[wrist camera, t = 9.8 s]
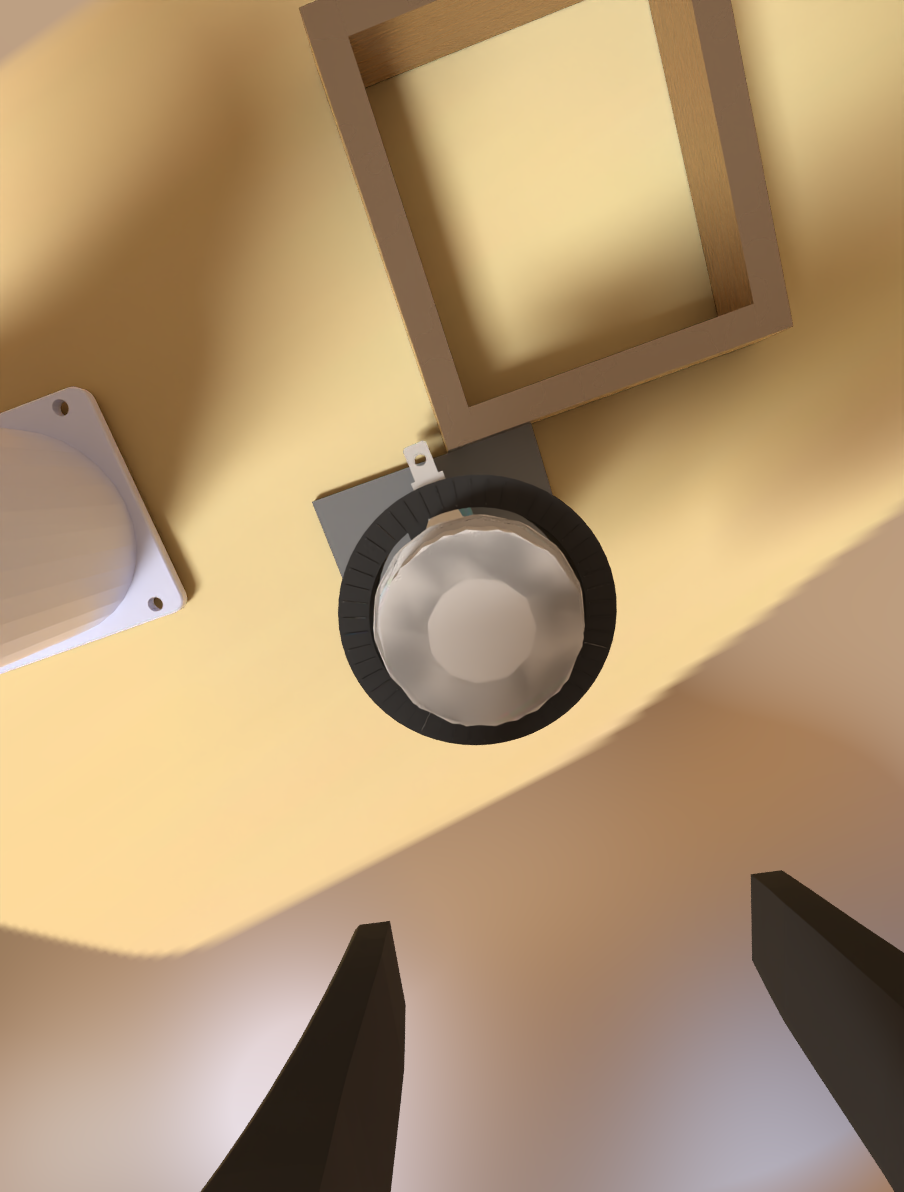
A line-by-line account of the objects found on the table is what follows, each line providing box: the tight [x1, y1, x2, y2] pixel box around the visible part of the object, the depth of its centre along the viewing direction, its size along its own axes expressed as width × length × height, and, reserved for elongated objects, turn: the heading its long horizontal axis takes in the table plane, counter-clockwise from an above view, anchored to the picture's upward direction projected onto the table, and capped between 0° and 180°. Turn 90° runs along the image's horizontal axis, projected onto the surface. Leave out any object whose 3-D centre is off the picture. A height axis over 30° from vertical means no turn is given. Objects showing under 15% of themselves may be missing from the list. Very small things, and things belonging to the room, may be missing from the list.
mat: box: [312, 423, 552, 584], centre depth 19 cm, size 8×7×1 cm
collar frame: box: [299, 0, 793, 453], centre depth 16 cm, size 11×12×2 cm
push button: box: [338, 441, 617, 745], centre depth 14 cm, size 7×5×10 cm
